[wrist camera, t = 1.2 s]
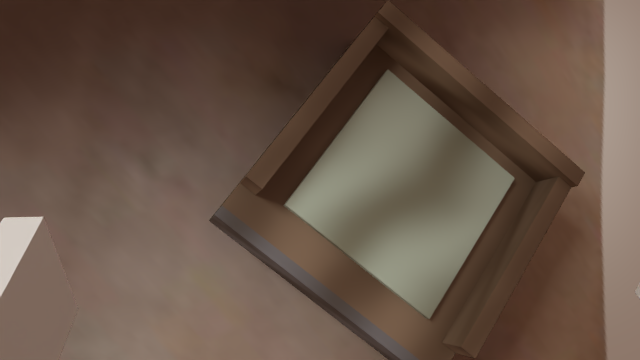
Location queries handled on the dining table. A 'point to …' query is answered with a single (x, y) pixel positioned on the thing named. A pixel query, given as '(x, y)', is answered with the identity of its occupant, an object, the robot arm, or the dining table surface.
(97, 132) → the dining table surface
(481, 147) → the dock
